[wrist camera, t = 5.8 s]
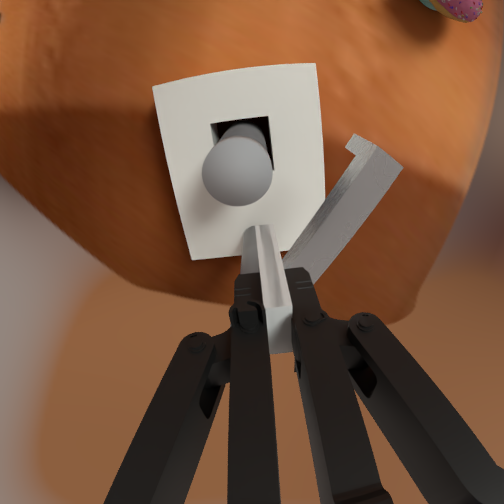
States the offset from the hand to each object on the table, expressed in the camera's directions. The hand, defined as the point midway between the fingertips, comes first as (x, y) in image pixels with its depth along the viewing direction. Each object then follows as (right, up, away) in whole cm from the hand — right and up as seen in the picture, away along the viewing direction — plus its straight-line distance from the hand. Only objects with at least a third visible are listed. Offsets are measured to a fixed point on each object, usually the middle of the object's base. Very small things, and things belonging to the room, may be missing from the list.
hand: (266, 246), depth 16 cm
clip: (+2, +1, +2) cm, 3 cm away
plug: (-2, +11, +11) cm, 15 cm away
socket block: (-1, +9, +12) cm, 15 cm away
